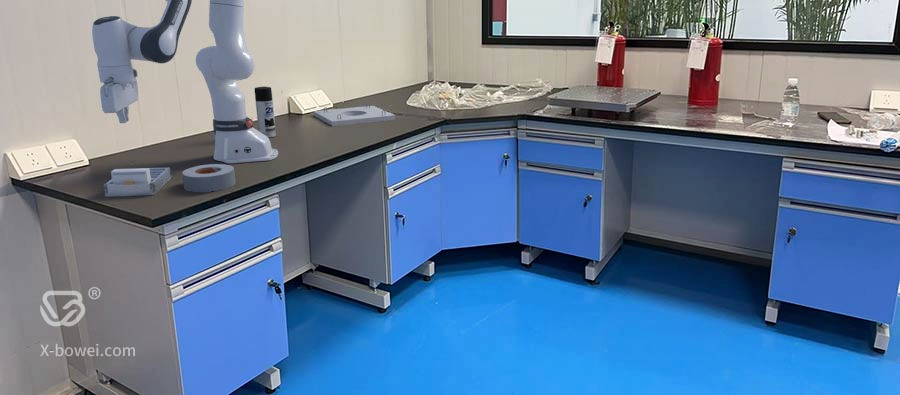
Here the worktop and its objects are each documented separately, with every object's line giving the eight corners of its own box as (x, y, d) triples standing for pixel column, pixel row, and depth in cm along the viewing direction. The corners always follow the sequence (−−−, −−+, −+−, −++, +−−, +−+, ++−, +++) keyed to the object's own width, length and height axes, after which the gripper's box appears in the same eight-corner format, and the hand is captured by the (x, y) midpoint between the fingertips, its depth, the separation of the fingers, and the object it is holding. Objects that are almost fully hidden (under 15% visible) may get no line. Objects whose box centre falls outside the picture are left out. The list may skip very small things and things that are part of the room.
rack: (171, 177, 215) (170, 165, 214) (154, 195, 198) (152, 181, 197) (126, 179, 213) (124, 167, 212) (105, 196, 196) (103, 183, 195)
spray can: (266, 139, 267) (262, 89, 260) (255, 137, 270) (250, 88, 264) (279, 136, 272) (275, 87, 266) (267, 134, 275) (263, 85, 269)
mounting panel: (313, 106, 311) (372, 100, 324) (314, 116, 312) (373, 111, 326) (332, 116, 289) (395, 110, 302) (332, 127, 290) (395, 120, 304)
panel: (152, 187, 202) (149, 168, 200) (148, 190, 199) (146, 170, 197) (117, 188, 201) (114, 169, 199) (114, 191, 198) (110, 171, 196)
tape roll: (175, 185, 208) (173, 169, 206) (221, 175, 218) (219, 160, 216) (197, 196, 197) (195, 180, 196) (244, 185, 208) (242, 170, 206)
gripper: (115, 80, 182) (123, 129, 186) (139, 69, 201) (146, 114, 205) (90, 81, 181) (99, 130, 185) (117, 70, 200) (124, 115, 205)
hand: (124, 122), depth 196 cm, fingers closed
